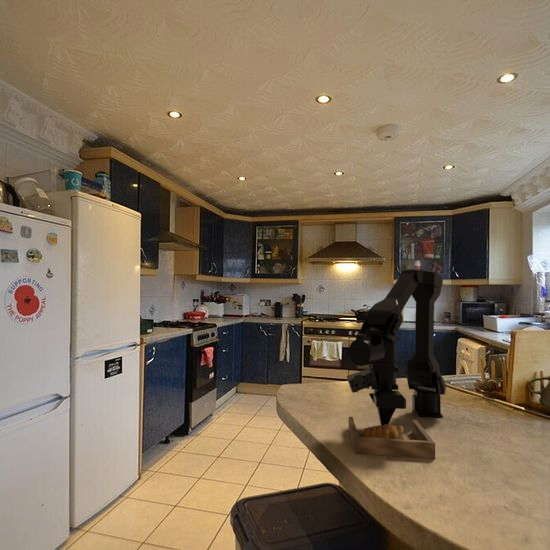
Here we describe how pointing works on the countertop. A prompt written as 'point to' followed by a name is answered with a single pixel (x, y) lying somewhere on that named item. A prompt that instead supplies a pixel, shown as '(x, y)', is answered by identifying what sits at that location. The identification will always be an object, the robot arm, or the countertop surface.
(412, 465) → the countertop surface
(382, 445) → the box
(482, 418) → the countertop surface
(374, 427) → the pastry
